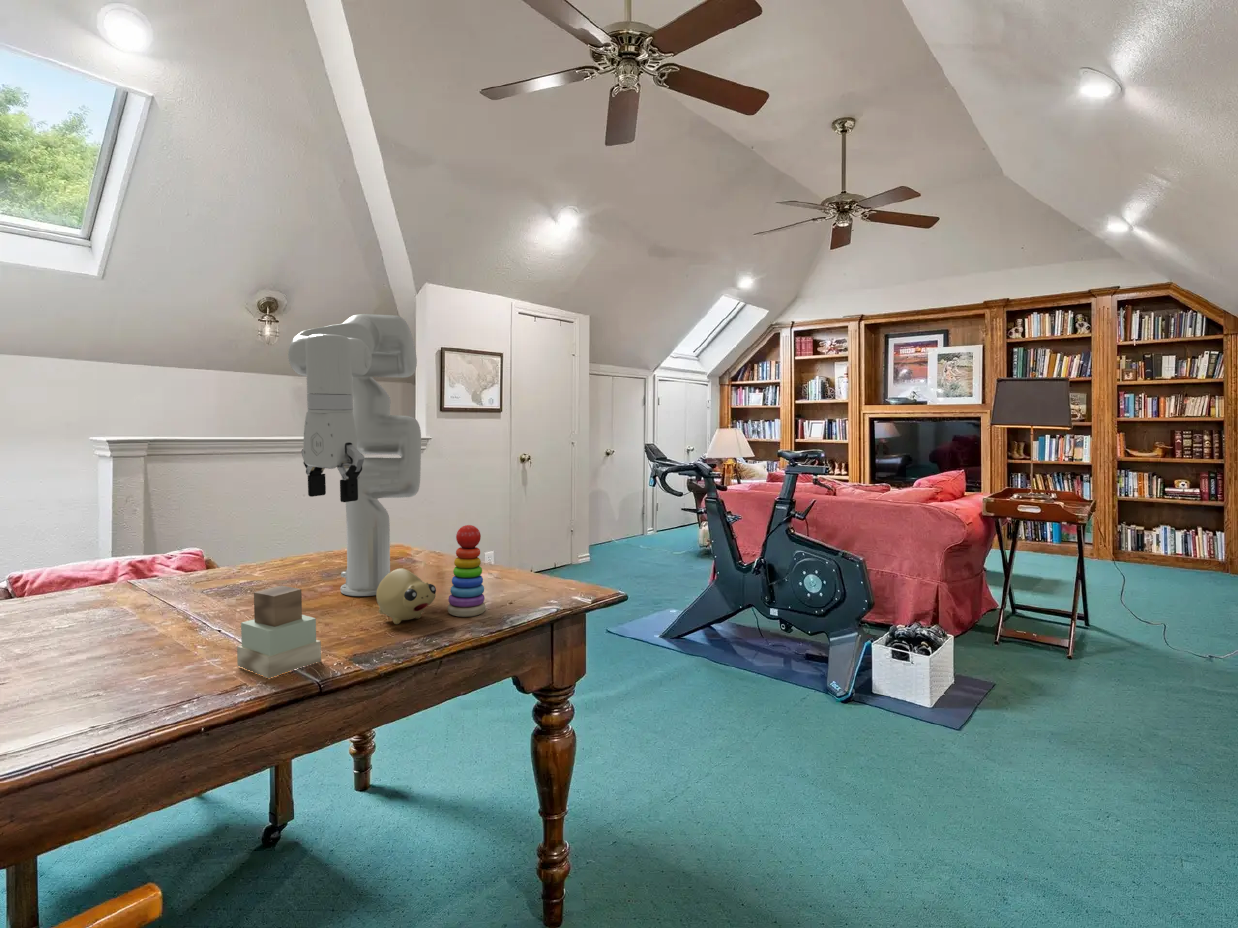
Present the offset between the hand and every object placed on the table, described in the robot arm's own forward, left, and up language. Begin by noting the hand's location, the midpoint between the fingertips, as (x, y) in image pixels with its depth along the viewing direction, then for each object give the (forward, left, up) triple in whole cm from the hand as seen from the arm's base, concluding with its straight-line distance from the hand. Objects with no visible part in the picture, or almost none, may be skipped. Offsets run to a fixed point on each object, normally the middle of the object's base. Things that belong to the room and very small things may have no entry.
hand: (332, 498), depth 119 cm
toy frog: (+2, +15, -27) cm, 31 cm away
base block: (+3, -12, -27) cm, 30 cm away
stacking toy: (+8, +26, -27) cm, 38 cm away
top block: (+3, -13, -23) cm, 26 cm away
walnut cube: (+3, -13, -19) cm, 23 cm away
